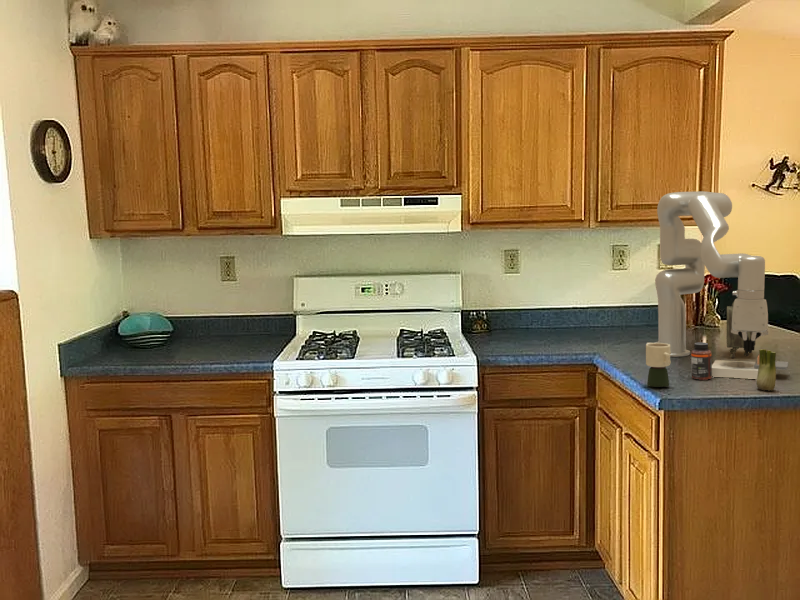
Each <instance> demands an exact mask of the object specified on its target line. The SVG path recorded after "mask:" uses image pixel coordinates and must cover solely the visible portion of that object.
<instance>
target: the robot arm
mask: <svg viewBox="0 0 800 600" xmlns="http://www.w3.org/2000/svg"><path fill="white" fill-rule="evenodd" d="M656 207H657V209H656V212H657V219H658V224H659V258H660V261H661V263H662V264H663V265H666V266H685V268H683V267H682V268H669V269H664V270H661V271H659V272H657V274H656V276H655V279H654V281H655V282H654V283H655V284H654V286H655V289H656V295H657V296H656V297H657V313H658V314H657V315H658V317H657V318H658V323H657V324H658V325H657V326H658V327H657V328H658V329H657V330H658V340H657V341H656V342H655V343H665V344H670V351H671V354H670V358H671V357H672V358H673V357H677V358H678V357H686V356H691V351H690V349H687V345H686V344H687V343H686V342H687V341H686V339H687V337H686V336H687V335H686V334H687V333H686V328H687V326H686V325H687V324H686V323H687V322H686V319H687V317H686V315H687V314H686V311H687V310H686V305H685V302H684V300H683V298H682V297H681V295H687V294H688V295H691V294H692V295H693V294H697V293H699V292H701V291H702V290H703V288H704V284H705V271H706V270H707V271H708V273H709V275H711V277H714V278H717V279H725V278H727V279H728V278H738V279H737V289H736V290H733V291H732V296H735V297H736V298H735V299H734V301H733V302H734V306H733V314H732V330H731V333H734V334H738V335H739V336H740V337H741V338H742V339H743V340H744V348H743V350H744V351H745V350H746V353H749V354H752V353H753V351H755V346H756V343H755V340H757V339H759V338H760V337H763V336H764V337H765V336H768V335H769V329H768V325H769V313H768V310H769V309H768V302H767V299H765V278H766V277H765V275H766V260H765V258H764V257H763V256H761V255H750V254H748V253H725V254H723V253H722V254H720V253H719V250H718V249H717V247H716V245H715V243H716V242H717V241H719V240H721V239H722V238H723V237H725V235H727V233H728V232H729V229H730V228H729V227H730V226H729V224H728V222H727V221H726V217H728V216H730V214H731V213H732V209H733V202H732V200H731V198H730V197H729V196H728V194H725V193H723V192H713V191H711V192H710V191H702V190H701V191H677V192H668V193H666V194H664V195H663V196H661V198H660V199H659V201H658V204H657V206H656ZM685 216H691V217H692V219H693V220H694V222H695V225H696V226H697V228H698V230H699V231H700V233H701V235H702V240H701V241H700V240H699V239H696V238H686V236H685V235H686V234H685V231H686V230H685V229H686V228H685V225H684V223H683V222H684V221H682V219H681V218H680V217H685ZM705 269H706V270H705ZM747 332H752V337H751V338H750V341H749V338H748V335H747ZM650 343H653V342H646V344H650Z"/></svg>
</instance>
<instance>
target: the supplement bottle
mask: <svg viewBox="0 0 800 600" xmlns="http://www.w3.org/2000/svg"><path fill="white" fill-rule="evenodd" d="M693 344H694V349H692V350H691V351H690V358H691V359H690V360H691V361H690V362H691V364H690V365H691V367H690V369H691V378H692V379H693V378H694V379H693V380H695V379H699V380H698V381H709V380H708V379H710V380H711V379H712V378H713V377H712V364H713V363H712V362H713V361H712V360H713V359H712V351H711V350H710V349H709V344H708V342H695V343H693Z"/></svg>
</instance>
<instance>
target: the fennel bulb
mask: <svg viewBox="0 0 800 600" xmlns="http://www.w3.org/2000/svg"><path fill="white" fill-rule="evenodd" d="M758 351H759V353H758V355H759V369H758V376H757V380H756V387H757V388H758V389H759V390H760V391H761V390H762V391H765V390H768V391H770V390H771V391H774V390H775V387H776V380H777V369H776V365H775V361H777V360H776V358H777V357H776V356H777V354H776V353H777V352H775V351H772V350H769V349H768V350H767V349H762V348H761V349H758Z"/></svg>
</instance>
